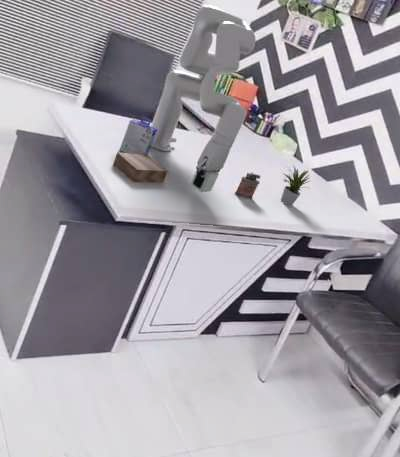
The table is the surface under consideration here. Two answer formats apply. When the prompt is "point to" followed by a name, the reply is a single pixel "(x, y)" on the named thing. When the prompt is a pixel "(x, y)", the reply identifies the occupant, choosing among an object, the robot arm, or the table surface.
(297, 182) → the house plant
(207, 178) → the sage box
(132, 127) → the ink cartridge box
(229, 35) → the robot arm
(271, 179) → the table surface
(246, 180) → the lighter
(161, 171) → the walnut block
